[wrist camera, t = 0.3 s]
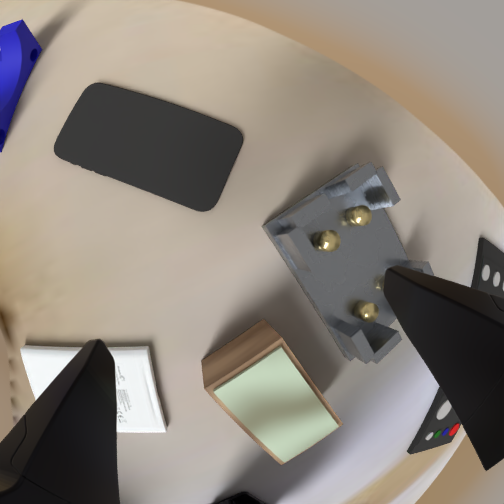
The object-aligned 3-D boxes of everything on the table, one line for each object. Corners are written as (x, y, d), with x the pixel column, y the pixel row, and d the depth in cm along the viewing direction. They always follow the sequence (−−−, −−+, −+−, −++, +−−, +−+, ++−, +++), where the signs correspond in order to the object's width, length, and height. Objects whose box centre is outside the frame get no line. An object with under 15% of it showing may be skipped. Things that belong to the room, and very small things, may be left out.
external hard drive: (27, 343, 18) (149, 343, 21) (52, 418, 19) (167, 424, 21) (19, 348, 17) (146, 350, 19) (46, 426, 17) (166, 434, 19)
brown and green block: (318, 397, 24) (345, 426, 18) (266, 432, 23) (282, 467, 17) (263, 318, 22) (283, 338, 17) (201, 359, 21) (204, 391, 16)
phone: (211, 217, 21) (48, 154, 18) (210, 217, 22) (52, 157, 18) (248, 131, 21) (90, 79, 18) (245, 135, 22) (92, 84, 19)
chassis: (415, 290, 25) (442, 295, 21) (345, 357, 24) (368, 373, 20) (351, 166, 23) (377, 154, 19) (261, 226, 22) (276, 222, 18)
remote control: (404, 449, 27) (412, 456, 25) (476, 238, 28) (487, 237, 26) (445, 438, 30) (453, 443, 28) (505, 259, 31) (514, 260, 29)
